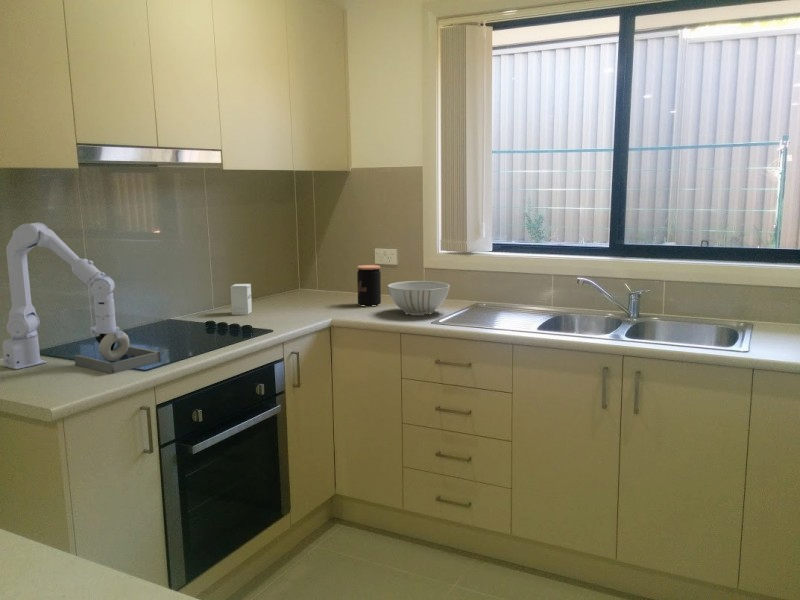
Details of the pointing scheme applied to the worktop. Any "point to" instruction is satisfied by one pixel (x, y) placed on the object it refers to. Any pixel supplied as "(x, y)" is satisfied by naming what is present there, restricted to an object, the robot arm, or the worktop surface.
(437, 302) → the decorative bowl
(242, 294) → the supplement box
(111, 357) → the donut
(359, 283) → the coffee jar
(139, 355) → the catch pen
